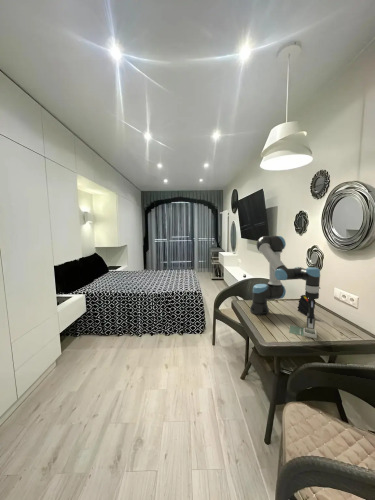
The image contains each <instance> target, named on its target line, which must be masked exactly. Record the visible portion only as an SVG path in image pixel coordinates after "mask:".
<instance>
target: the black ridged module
mask: <svg viewBox="0 0 375 500" xmlns="http://www.w3.org/2000/svg"><path fill="white" fill-rule="evenodd" d="M308 299H309V298H307V297H305V294H302V295H300V298H299V300H298V306H297V312H299V313H301V314H303V315H304V316H307V313H309V312H308V310H309V307H308Z"/></svg>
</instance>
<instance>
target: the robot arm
mask: <svg viewBox="0 0 375 500" xmlns="http://www.w3.org/2000/svg"><path fill="white" fill-rule="evenodd" d="M286 246H287V245H286V240H285V238H284V237H283V236H282V235H264V236H261V237H259V238H258V239H257V241H256V249H257V251H258V252H259V253H261V254H262V255H263V257H264V258H265V259H266V260H267V262H268V263H269V281H268V282H267V284H266V283H257V284H254V285H253V287H252V303H251V304H250V305H251V306H250V307H249V308H250V309H249V311H250V312H251V314H254V315H258V316H267V315H268V314H269V313H270V309H269V306H268V301H270V300H281V299H283V298H285V296H286V288H285V287H286V286H284V284H283V283H282V282H281V281H287V280H291V281H292V280H303V281H305V286H304V288H305V291H304V293H305V294H304V295H305V297H307V298H308V307H309V310H308V312H309V317H308V329H311V328H313V319H314V315H315V308H316V307H315V305H316V300H318V299H319V298H320V290H321V287H320V282H321V281H320V280H321V270H320V268H318V267H311V266H310V267H307V268H304V267H302V266H301V267H300V266H296V267H294V268H288V267H287V266H286V265H285V264H284V262H283V261H282V260H281V255H282V253H283V250H285V248H286Z"/></svg>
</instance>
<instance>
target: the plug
mask: <svg viewBox="0 0 375 500" xmlns="http://www.w3.org/2000/svg"><path fill="white" fill-rule="evenodd" d="M315 316H316V315H315V314H314V319H313V328H310V329H313V330H315V326H316V317H315ZM308 317H309V313H307V315H306V328H308ZM308 329H309V328H308Z"/></svg>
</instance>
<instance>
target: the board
mask: <svg viewBox="0 0 375 500" xmlns="http://www.w3.org/2000/svg"><path fill="white" fill-rule="evenodd" d="M288 332H289V334H294V335H296V336H297V335H298V336H302V337H307V338H311V339H316V340H318V333H317V330H316V329H311V328H307V327H300V326H297V325H291V324H290V325H289V329H288Z"/></svg>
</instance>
